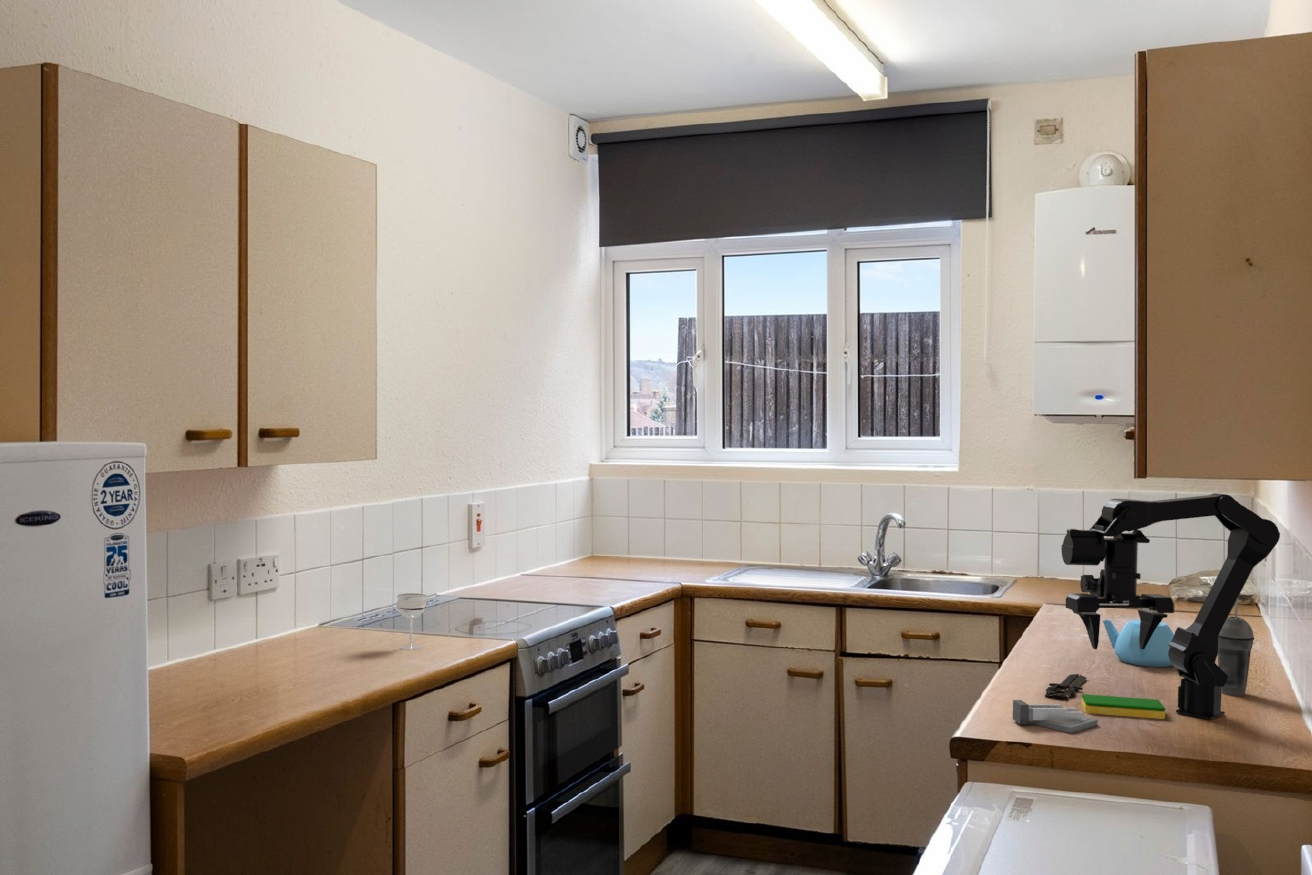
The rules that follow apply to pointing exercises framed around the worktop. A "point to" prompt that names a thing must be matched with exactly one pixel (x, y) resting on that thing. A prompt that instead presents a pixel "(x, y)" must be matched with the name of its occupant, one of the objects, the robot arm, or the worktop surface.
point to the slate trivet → (1067, 724)
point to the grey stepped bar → (1043, 712)
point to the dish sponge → (1123, 706)
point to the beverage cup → (1235, 653)
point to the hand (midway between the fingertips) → (1118, 648)
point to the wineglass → (411, 611)
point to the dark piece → (1071, 688)
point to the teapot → (1130, 648)
